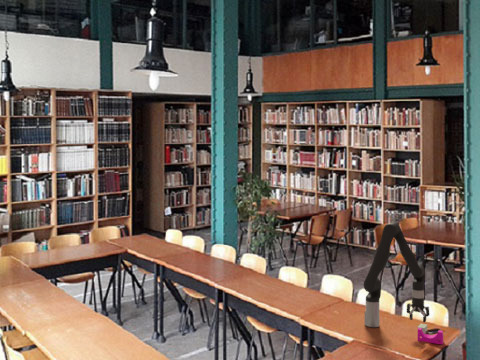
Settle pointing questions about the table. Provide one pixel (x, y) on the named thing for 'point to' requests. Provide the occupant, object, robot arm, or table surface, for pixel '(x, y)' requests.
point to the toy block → (430, 337)
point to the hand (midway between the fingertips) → (417, 321)
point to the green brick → (423, 327)
